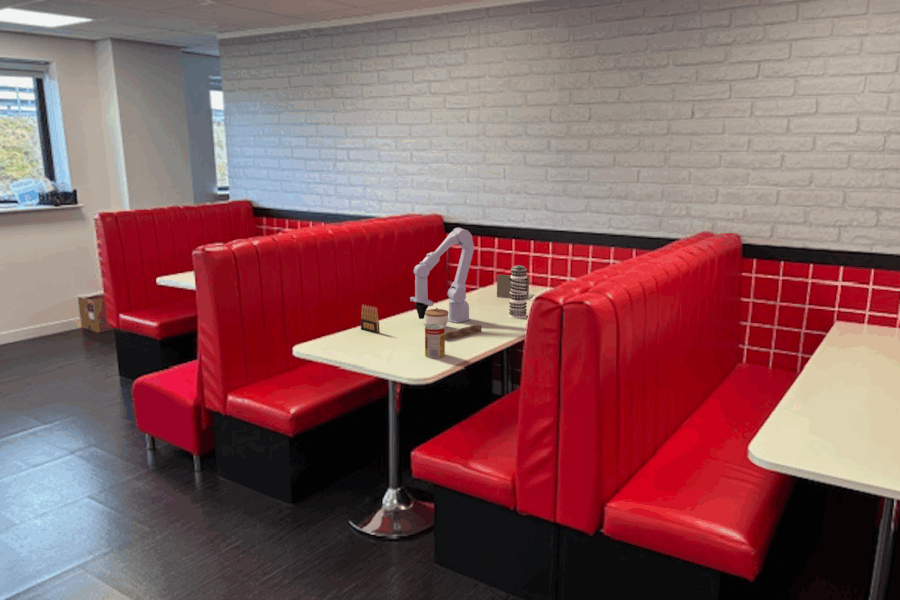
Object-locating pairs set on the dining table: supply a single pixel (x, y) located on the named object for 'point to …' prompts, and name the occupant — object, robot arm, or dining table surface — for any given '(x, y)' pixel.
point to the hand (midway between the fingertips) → (421, 318)
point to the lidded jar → (436, 316)
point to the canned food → (434, 341)
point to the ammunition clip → (369, 319)
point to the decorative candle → (518, 291)
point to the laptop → (504, 288)
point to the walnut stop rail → (462, 332)
